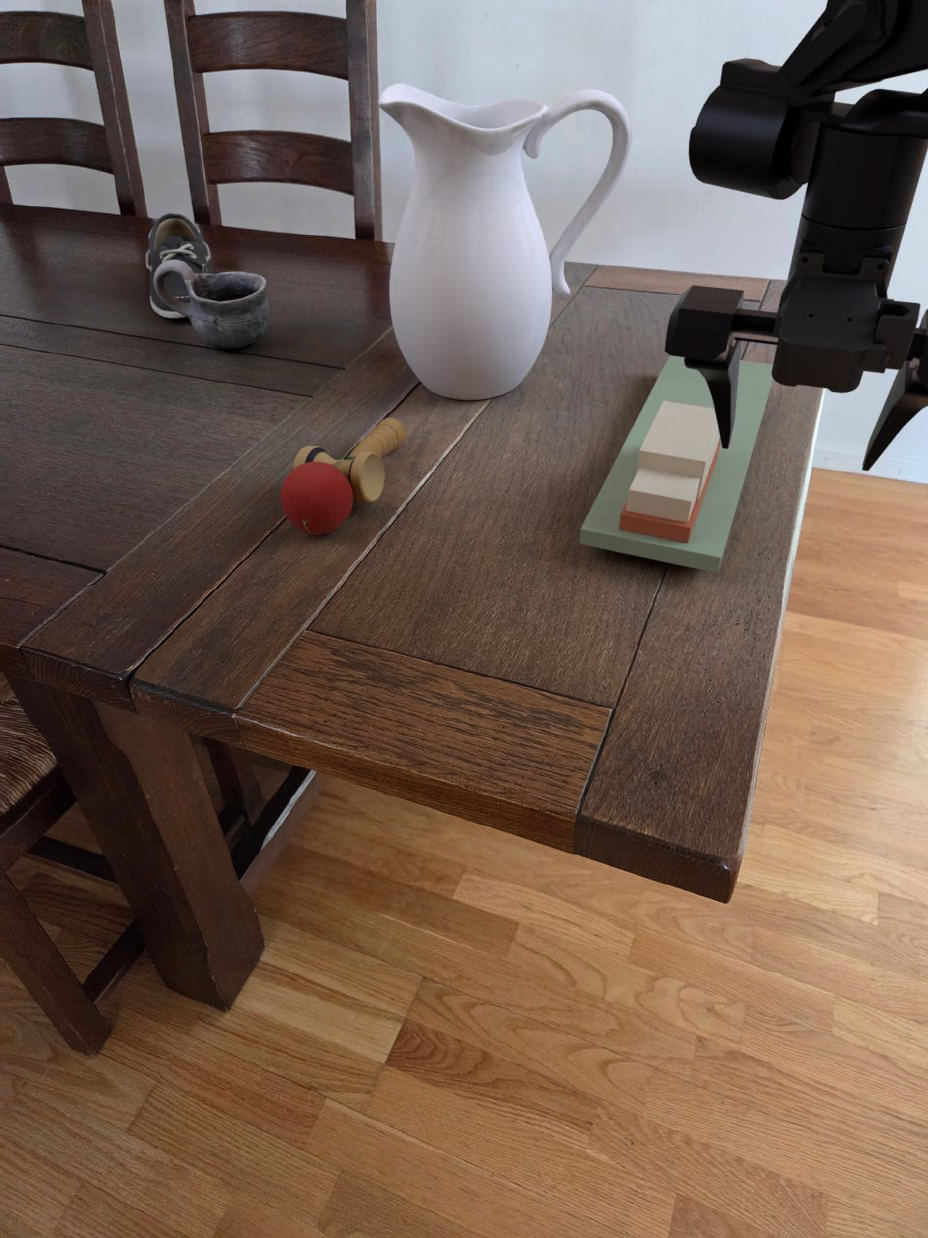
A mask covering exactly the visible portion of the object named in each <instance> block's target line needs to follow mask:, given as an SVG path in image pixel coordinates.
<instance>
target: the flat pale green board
mask: <svg viewBox="0 0 928 1238" xmlns="http://www.w3.org/2000/svg"><path fill="white" fill-rule="evenodd" d="M668 355H669V354H668ZM684 358H685V357H678V356H671V355H669V356H668V358H667V360H666V361H665V362H664V365H663V367H662V369H661V371H660V373H659V375H658V377H657V379H656V381H655V383H654V385H653V387H652V389H651V391H650V392H649V394H648V396H647V399H646V400H645V402H644V404H643V406H642V409H641V410H640V412H639V414H638V416H637V418H636V420H635V421H634V424H633V426H632V428H631V430H630V431H629V434H628V435H627V438H626V440H625V442H624V443H623V445H622V447H621V449H620V451H619V453H618V455H617V457H616V459H615V461H614V463H613V465H612V467H611V469H610V471H609V473H608V475H607V477H606V478H605V480H604V482H603V484H602V486H601V488H600V490H599V493H598V494H597V497H596V498H595V500H594V502H593V503H592V505H591V508H590V510H589V512H588V514H587V515H586V517H585V518H584V522H583V523H582V525H581V527H580V531H579V532H580V533H579V543H578V544H579V545H584V546H588V547H593V548H597V549H603V550H606V551H612V552H616V553H620V554H624V555H625V554H626V555H630V556H636V557H640V558H643V559H644V558H645V559H649V560H654V561H658V562H662V563H663V562H664V563H668V564H673V565H678V566H682V567H686V568H691V569H696V570H701V571H706V572H710V573H715V574H718V573H719V570H720V568H721V564H722V560H723V556H724V554H725V550H726V546H727V542H728V540H729V536H730V532H731V529H732V526H733V525H732V524H733V522H734V519H735V514H736V511H737V508H738V504H739V501H740V498H741V493H742V490H743V488H744V487H743V486H744V483H745V480H746V477H747V473H748V469H749V465H750V463H751V459H752V455H753V451H754V449H755V445H756V441H757V438H758V434H759V431H760V427H761V424H762V420H763V417H764V413H765V410H766V407H767V403H768V400H769V395H770V392H771V388H772V385H773V382H774V379H773V377H772V368H773V363H765V362H758V361H750V360H742V359H740V363H739V375H738V387H737V399H736V412H735V422H734V427H733V432H732V436H731V441H730V445H729V448H728V449H723V448H722V445H721V444H720V449H719V454H718V458H717V461H716V464H715V467H714V470H713V472H712V475H711V478H710V481H709V484H708V487H707V490H706V493H705V496H704V499H703V501H702V504H701V507H700V510H699V513H698V516H697V519H696V522H695V525H694V528H693V530H692V533H691V536H690V539H689V542H688V543H684V542H679V541H674V540H669V539H664V538H659V537H654V536H649V535H645V534H640V533H635V532H630V531H625V530H620V529H619V521H620V514H621V512H622V509H623V507H624V505H625V503H626V501H627V499H628V494H629V489H630V487H631V484H632V482H633V480H634V478H635V476H636V471H637V463H638V455H639V450H640V448H641V446H642V444H643V441H644V439H645V437H646V435H647V433H648V431H649V429H650V427H651V425H652V423H653V421H654V419H655V417H656V415H657V412H658V410H659V408H660V406H661V404H662V402H663V401H668V402H675V403H681V404H688V405H694V406H700V407H707V408H713V409H715V408H714V404H713V400H712V396H711V393H710V390H709V388H708V385H707V382H706V380H705V378H704V377H703V376H702V375H701V373H700V372H699V371H698V370H695V369H689V368H687V367H686V366H685V365H684ZM718 442H720V443H721V440H720V436H719V441H718Z"/></svg>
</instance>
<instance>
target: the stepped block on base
mask: <svg viewBox="0 0 928 1238" xmlns="http://www.w3.org/2000/svg"><path fill="white" fill-rule="evenodd" d="M719 436H720V434H719V429H718V424H717V419H716V414H715V409H713V408H707V407H700V406H694V405H688V404H681V403H675V402H668V401H663V402H662V404H661V406H660V408H659V410H658V412H657V415H656V417H655V419H654V421H653V423H652V425H651V427H650V429H649V431H648V433H647V435H646V437H645V439H644V441H643V444H642V446H641V448H640V450H639V455H638V463H637V471H636V476H635V478H634V480H633V482H632V484H631V487H630V489H629V494H628V499H627V501H626V503H625V505H624V507H623V509H622V512H621V514H620V521H619V529H620V530H625V531H630V532H635V533H640V534H645V535H649V536H654V537H659V538H664V539H669V540H674V541H679V542H684V543H688V542H689V539H690V536H691V533H692V530H693V528H694V525H695V522H696V519H697V516H698V513H699V510H700V507H701V504H702V501H703V499H704V496H705V493H706V490H707V487H708V484H709V481H710V478H711V475H712V472H713V470H714V467H715V464H716V461H717V458H718V454H719V449H720V444H721V443H720V442H718V441H719Z"/></svg>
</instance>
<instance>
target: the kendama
mask: <svg viewBox="0 0 928 1238" xmlns="http://www.w3.org/2000/svg"><path fill="white" fill-rule="evenodd" d="M406 438H407V432H406V428H405V426H404V424H403V423H402V422H401V421H400V420H399V419H397V418H395V417H386V418H384V419H382V420H381V421H380V422H378V424H377V425H376V426H375V427H374V428H373V429H372V431H371V432H369V433H368V434H367V435H366V436H365V437H364V438H363V439H361V441H360V442H358V444H357V445H356V446H355V447H354V448H353V449H352V451H351V452H350V453H349V455H348V456H347V457H346V459H334V458H333V457H331V456H330V455H329V453H328V452H327V450H326V449H325V448H323V447H321V446H318V445H306V446H303V447H301V448H300V449H299V450H298V452H297V454H296V456H295V458H294V461H293V465H292V470H291V471H290V472H289V473H288V475H286V477H285V479H284V481H283V483H282V486H281V489H280V503H281V507H282V508H281V509H282V510H283V513H284V515H285V516H286V518H287V519H288V521H289V522H290V523H291V524H292V525H293V526H294V527H296V528H297V529H299V530H301V531H303V532H305V533H308V534H311V535H313V536H318V535H322V534H327V533H330V532H332V531H335V530H337V529H338V528H339V527H341V526H342V525H343V524H344V523H345V522H346V521H347V520H348V518H349V516H350V515H351V512H352V509H353V505H354V499H355V500H356V501H357V502H358V503H361V504H362V503H363V504H370V503H371V504H373V503H376V501H378V499H379V498H380V497H381V494H382V492H383V490H384V485H385V475H386V474H385V468H384V467H385V466H384V463H383V460H382V458H384V457H386V456H387V455H388V454H390V453H391V452H393V451H394V450H396V449H398V448H400V447H401V446H402V445H404V443H405V441H406Z"/></svg>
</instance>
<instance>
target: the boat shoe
mask: <svg viewBox="0 0 928 1238" xmlns="http://www.w3.org/2000/svg"><path fill="white" fill-rule="evenodd" d="M200 233H201V230H200V228H199V227H198V226H197V225H196V224H195V223H194V222H193V221H191V220H190V219H189V218H188V217H187V216H185V215H183V214H180V213H173V212H169V213H166V214H164V215H161V216H160V217H159V218H158V219H157V220H156V221H154V225H153V227H152V228H151V229H150V231H149V233H148V249H147V252H146V253H145V266H146V269H148V270H149V276H148V279H149V294H150V296H149V300H150V306H151V308H152V310H153V311H154V312H155V313H156V314H158V315H159V316H161V317H164V318H168V319H182V318H186V316H183V315H182V314H180V313H178V312H176V311H174V310H173V309H171V308H170V307H168V306H167V305H166V304H165V303H164V302H163V301H162V300H161V299H160V297H159V296H158V294H157V292H156V290H155V287H154V275H155V272H156V270H157V268H158V267H159V266H160V265H161V264H162V263H163V262H165V261H168V260H180V261H183V262H185V263H186V264H187V265H188V266H189V267H190V268H191V269H192V271H193V272H194V273H195V274H212V271H211V265H210V259H211V252H210V248H209V245H208V244H207V243H206V242H205V241H204V239H203V237H202V235H201V234H200ZM163 282H164V285H165V287H166V288H167V290H168V291H169V292H170V293H171V294H172V296H174V297H175V298H176V299H177V300H179V301H181V302H183V303H190V302H191V300H190V296H189V293H188V290H187V287H186V285H185V282H184V280H183V278H182V277H181V275H179V274H177V273H174V272H169V273H167V274H165V275H164V277H163Z"/></svg>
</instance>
